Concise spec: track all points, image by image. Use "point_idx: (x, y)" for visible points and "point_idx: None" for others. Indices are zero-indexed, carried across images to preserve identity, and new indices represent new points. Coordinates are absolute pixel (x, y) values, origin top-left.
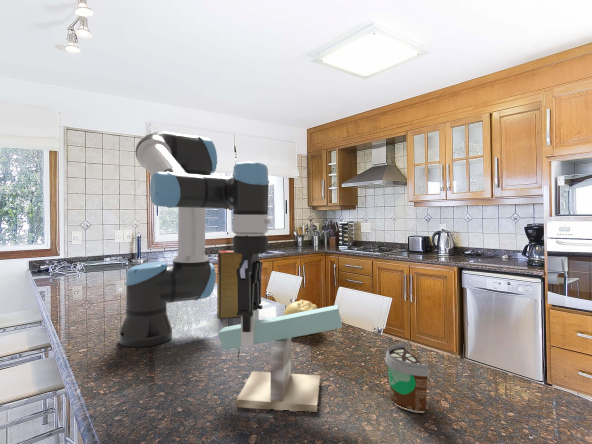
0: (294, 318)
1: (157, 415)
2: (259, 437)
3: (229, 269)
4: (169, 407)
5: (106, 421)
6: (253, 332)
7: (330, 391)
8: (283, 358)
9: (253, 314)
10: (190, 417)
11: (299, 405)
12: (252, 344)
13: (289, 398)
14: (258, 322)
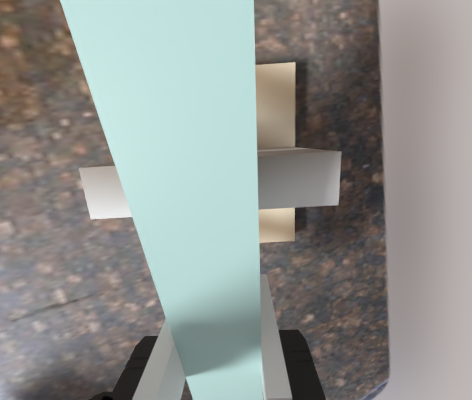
0: (254, 95)
1: (330, 339)
2: (380, 167)
3: None
4: (306, 334)
5: (351, 389)
6: (273, 312)
7: None
8: (316, 150)
9: (168, 397)
10: (331, 293)
11: (294, 106)
12: (267, 282)
13: (273, 134)
14: (217, 331)
